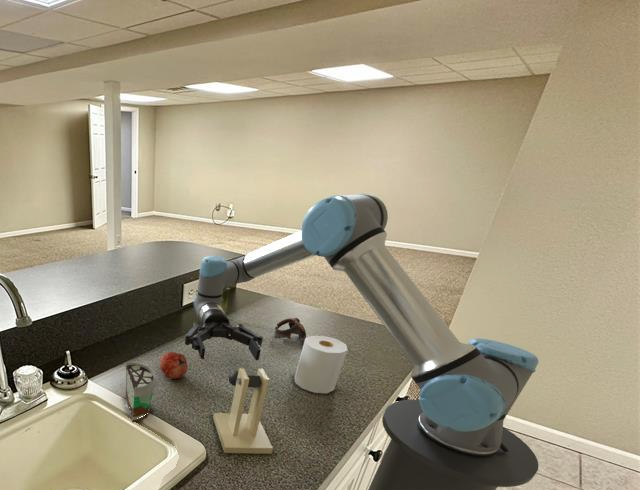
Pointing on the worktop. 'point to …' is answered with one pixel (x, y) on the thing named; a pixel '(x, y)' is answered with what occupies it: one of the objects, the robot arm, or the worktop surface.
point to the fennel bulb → (225, 299)
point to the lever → (253, 380)
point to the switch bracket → (244, 419)
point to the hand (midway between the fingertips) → (230, 354)
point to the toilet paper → (320, 364)
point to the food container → (139, 390)
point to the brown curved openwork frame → (290, 329)
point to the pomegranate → (173, 365)
